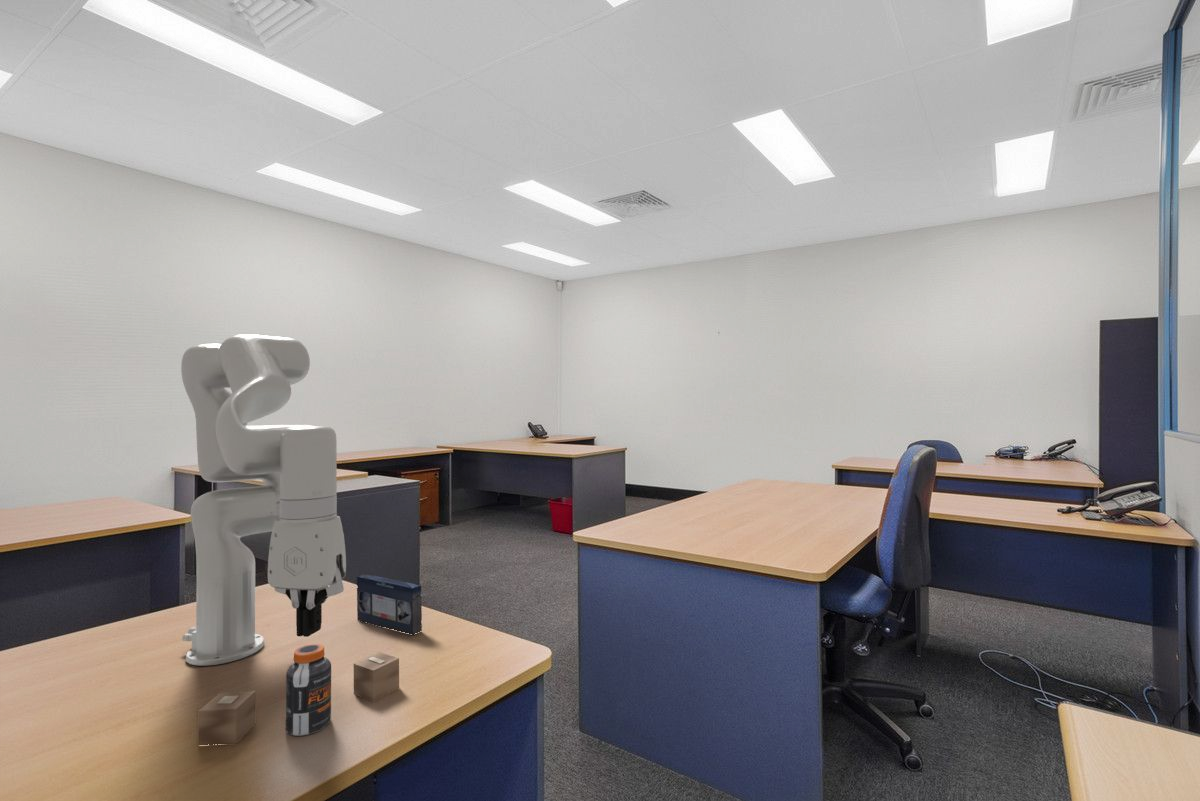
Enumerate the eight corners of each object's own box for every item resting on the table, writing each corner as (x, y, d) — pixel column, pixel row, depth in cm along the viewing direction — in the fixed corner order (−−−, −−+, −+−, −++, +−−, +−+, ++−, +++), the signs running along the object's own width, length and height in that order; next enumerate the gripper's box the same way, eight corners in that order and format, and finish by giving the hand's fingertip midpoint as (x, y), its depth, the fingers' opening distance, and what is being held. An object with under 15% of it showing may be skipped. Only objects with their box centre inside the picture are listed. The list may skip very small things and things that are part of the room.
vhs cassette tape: (356, 620, 123) (356, 576, 123) (368, 616, 125) (367, 572, 126) (411, 637, 113) (410, 589, 113) (422, 632, 116) (422, 585, 116)
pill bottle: (311, 739, 78) (311, 658, 78) (275, 735, 79) (275, 655, 79) (339, 716, 84) (339, 641, 84) (305, 712, 85) (306, 638, 85)
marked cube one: (198, 747, 76) (198, 709, 76) (220, 726, 81) (220, 691, 81) (235, 745, 77) (236, 707, 77) (255, 724, 82) (255, 689, 82)
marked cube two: (353, 694, 90) (353, 662, 90) (379, 681, 95) (379, 651, 95) (373, 702, 88) (373, 669, 88) (399, 688, 92) (399, 657, 92)
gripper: (244, 512, 80) (244, 640, 79) (337, 514, 77) (337, 646, 76) (283, 504, 87) (283, 621, 86) (369, 505, 84) (369, 626, 84)
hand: (309, 632), depth 81 cm, fingers closed
